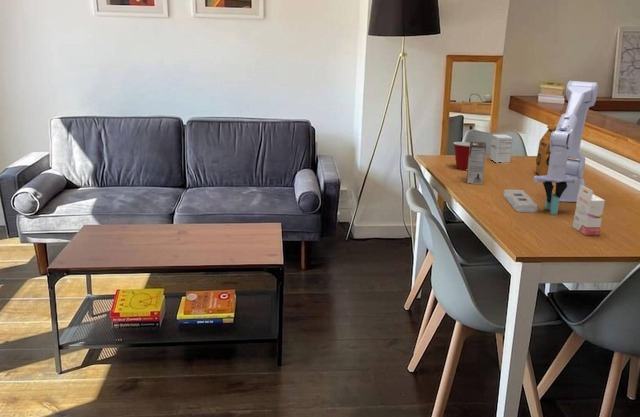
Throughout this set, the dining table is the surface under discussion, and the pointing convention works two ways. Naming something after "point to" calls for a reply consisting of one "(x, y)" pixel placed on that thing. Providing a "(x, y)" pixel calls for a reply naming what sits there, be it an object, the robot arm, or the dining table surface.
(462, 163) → the plastic cup
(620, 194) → the dining table surface
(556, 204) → the teal rectangular plank
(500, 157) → the supplement box
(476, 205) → the dining table surface
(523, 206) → the white slotted slab
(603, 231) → the dining table surface
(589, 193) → the ink cartridge box
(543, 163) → the coffee package
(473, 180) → the coffee box
